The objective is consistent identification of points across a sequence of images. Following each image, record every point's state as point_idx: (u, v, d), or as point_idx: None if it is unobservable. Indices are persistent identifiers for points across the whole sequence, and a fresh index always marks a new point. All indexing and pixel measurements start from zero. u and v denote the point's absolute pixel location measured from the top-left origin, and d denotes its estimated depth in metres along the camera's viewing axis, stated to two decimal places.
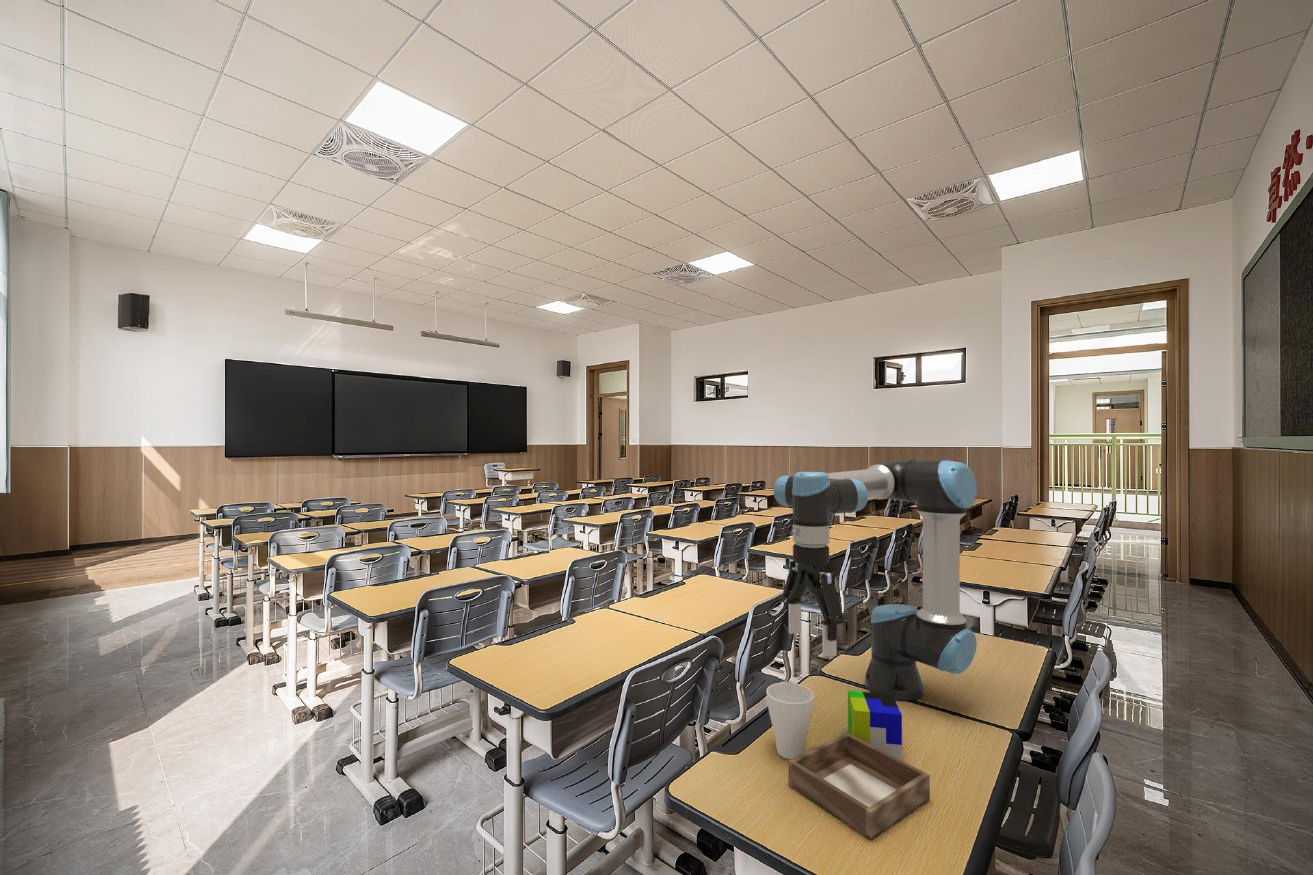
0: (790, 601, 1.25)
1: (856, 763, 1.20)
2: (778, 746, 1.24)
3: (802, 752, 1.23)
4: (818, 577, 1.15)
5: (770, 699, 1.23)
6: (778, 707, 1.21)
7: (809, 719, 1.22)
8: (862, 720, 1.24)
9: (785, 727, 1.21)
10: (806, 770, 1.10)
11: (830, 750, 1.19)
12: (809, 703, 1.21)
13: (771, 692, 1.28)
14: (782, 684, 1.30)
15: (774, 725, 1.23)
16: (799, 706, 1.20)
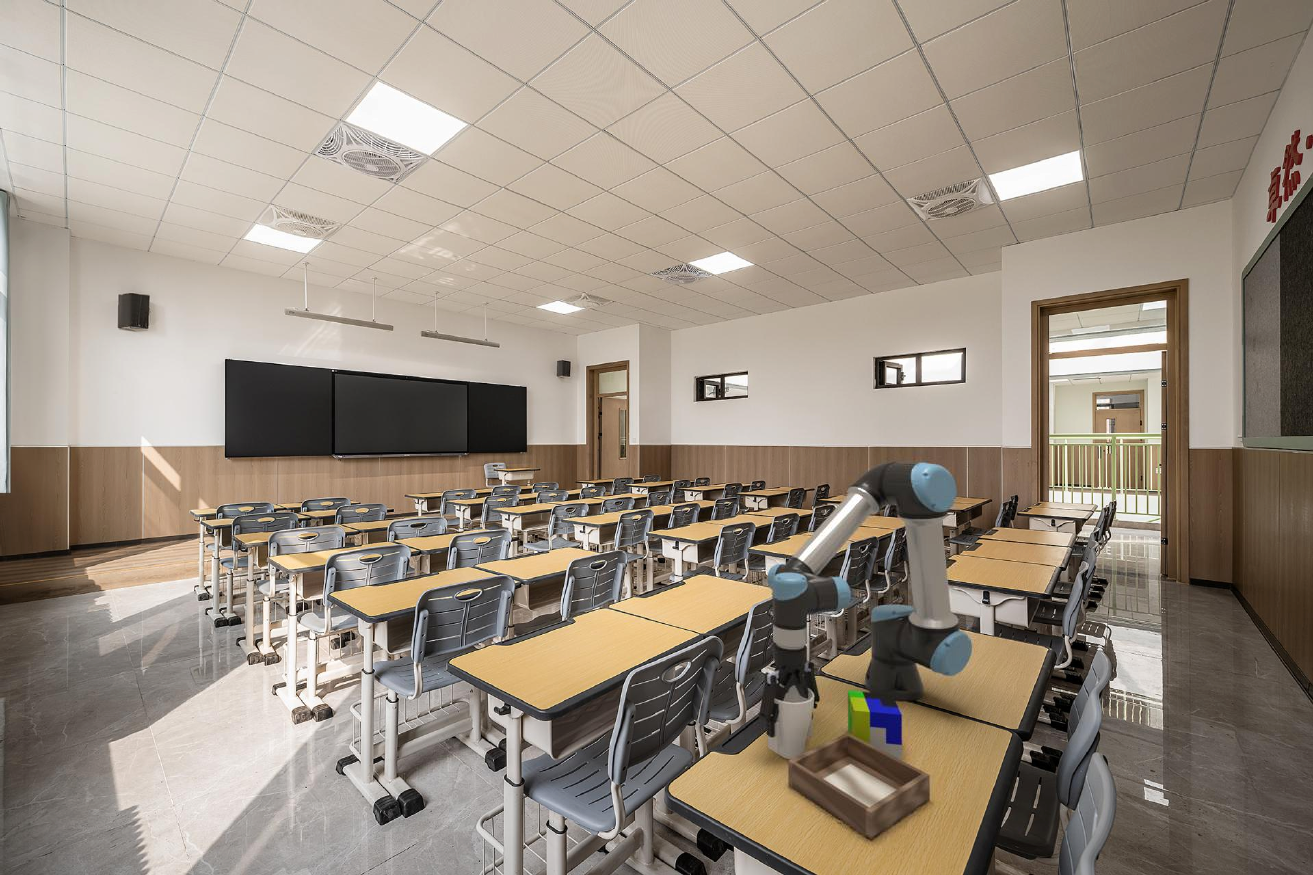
0: None
1: (856, 763, 1.20)
2: None
3: (802, 752, 1.23)
4: None
5: None
6: None
7: (809, 719, 1.22)
8: (862, 720, 1.24)
9: (785, 727, 1.21)
10: (806, 770, 1.10)
11: (830, 750, 1.19)
12: (809, 703, 1.21)
13: None
14: None
15: None
16: (799, 706, 1.20)
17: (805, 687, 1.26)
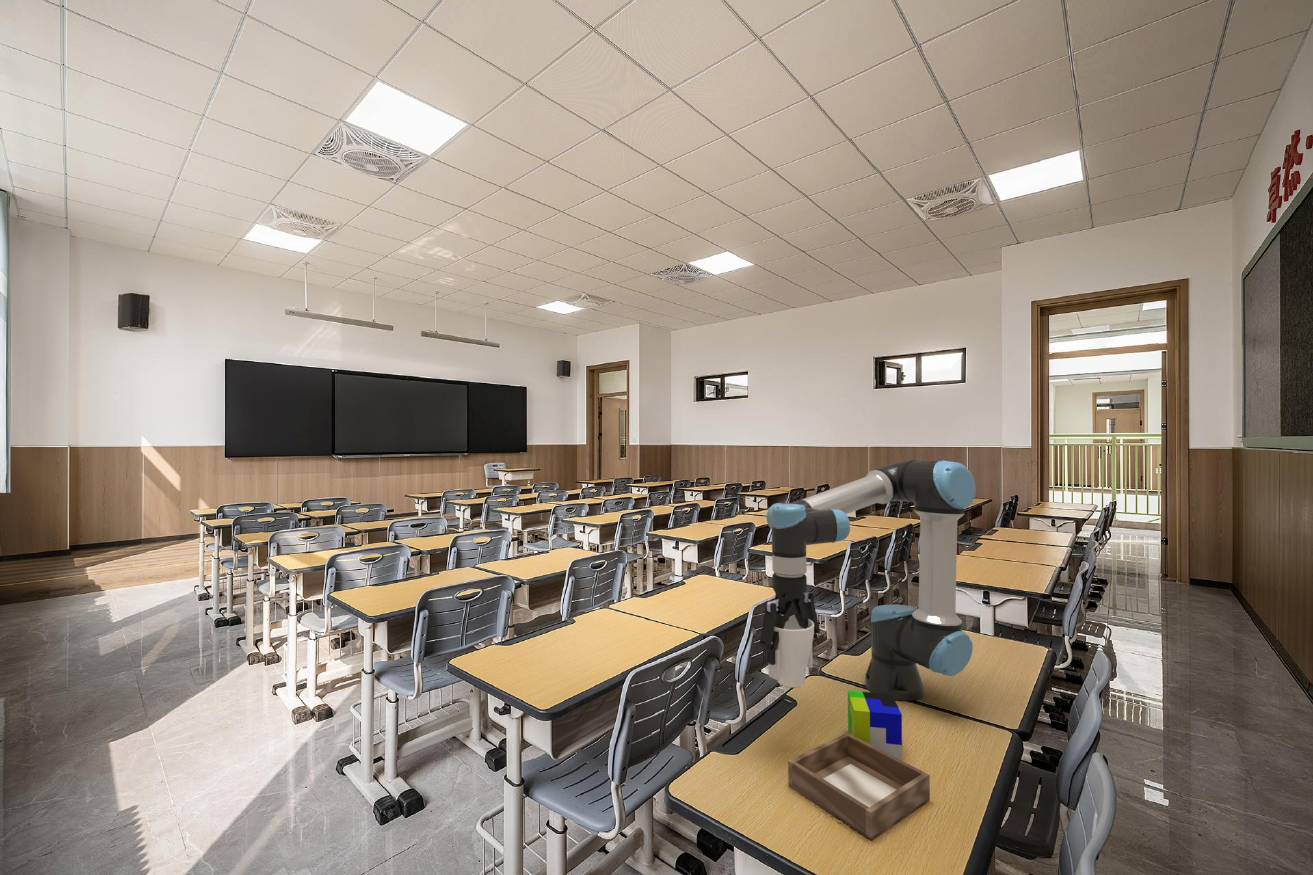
0: None
1: (856, 763, 1.20)
2: None
3: (803, 680, 1.23)
4: None
5: None
6: None
7: (809, 647, 1.22)
8: (862, 720, 1.24)
9: (786, 655, 1.21)
10: (806, 770, 1.10)
11: (830, 750, 1.19)
12: (809, 630, 1.21)
13: None
14: None
15: None
16: (799, 632, 1.20)
17: (805, 617, 1.26)
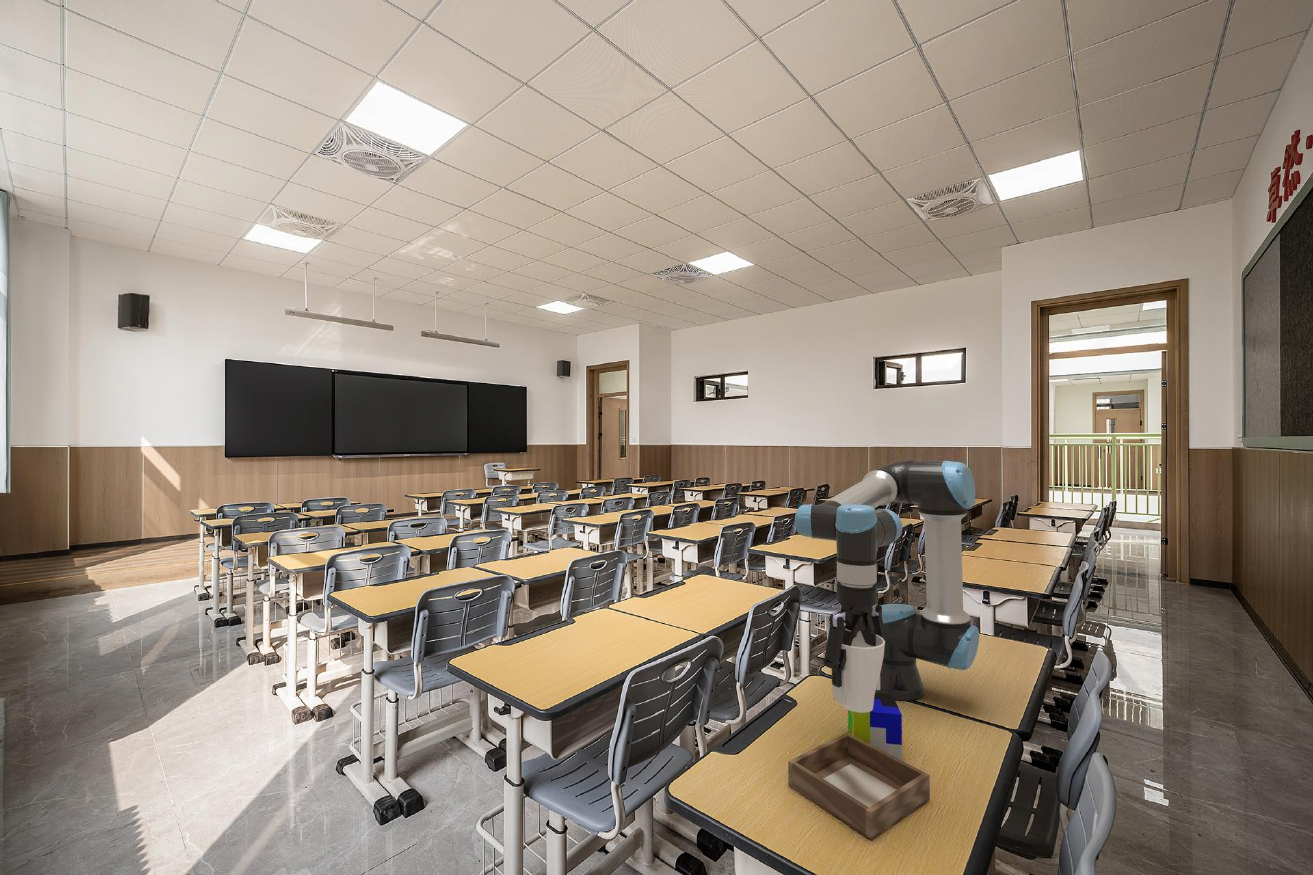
0: None
1: (856, 763, 1.20)
2: None
3: (872, 705, 1.08)
4: None
5: None
6: None
7: (880, 667, 1.08)
8: (862, 720, 1.24)
9: (854, 676, 1.07)
10: (806, 770, 1.10)
11: (830, 750, 1.19)
12: (881, 648, 1.07)
13: None
14: None
15: None
16: (870, 651, 1.06)
17: (873, 633, 1.12)
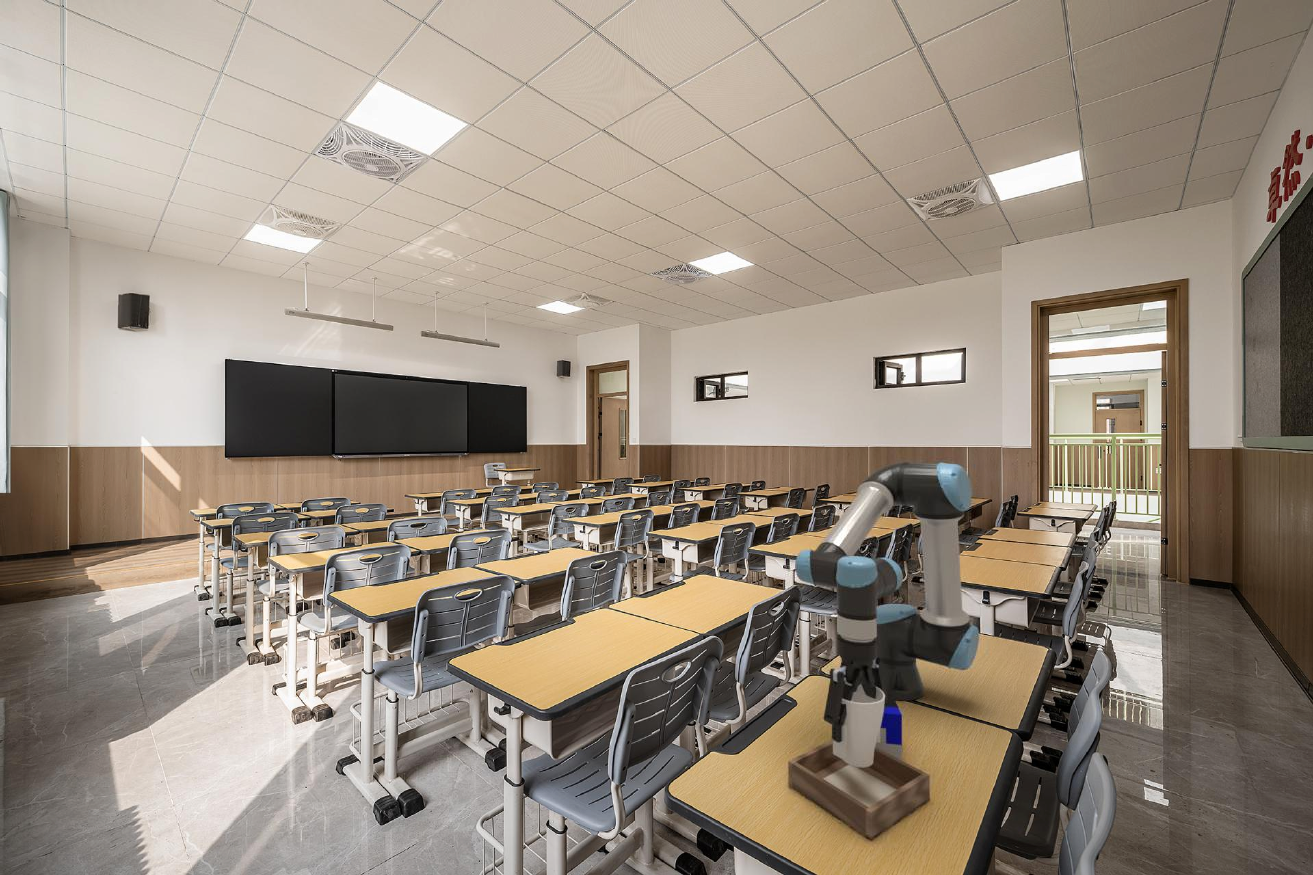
0: None
1: None
2: None
3: (872, 759, 1.08)
4: None
5: None
6: None
7: (880, 722, 1.08)
8: None
9: (854, 731, 1.07)
10: (806, 770, 1.10)
11: (830, 750, 1.19)
12: (881, 703, 1.07)
13: None
14: (845, 682, 1.15)
15: None
16: (870, 706, 1.05)
17: (873, 685, 1.12)
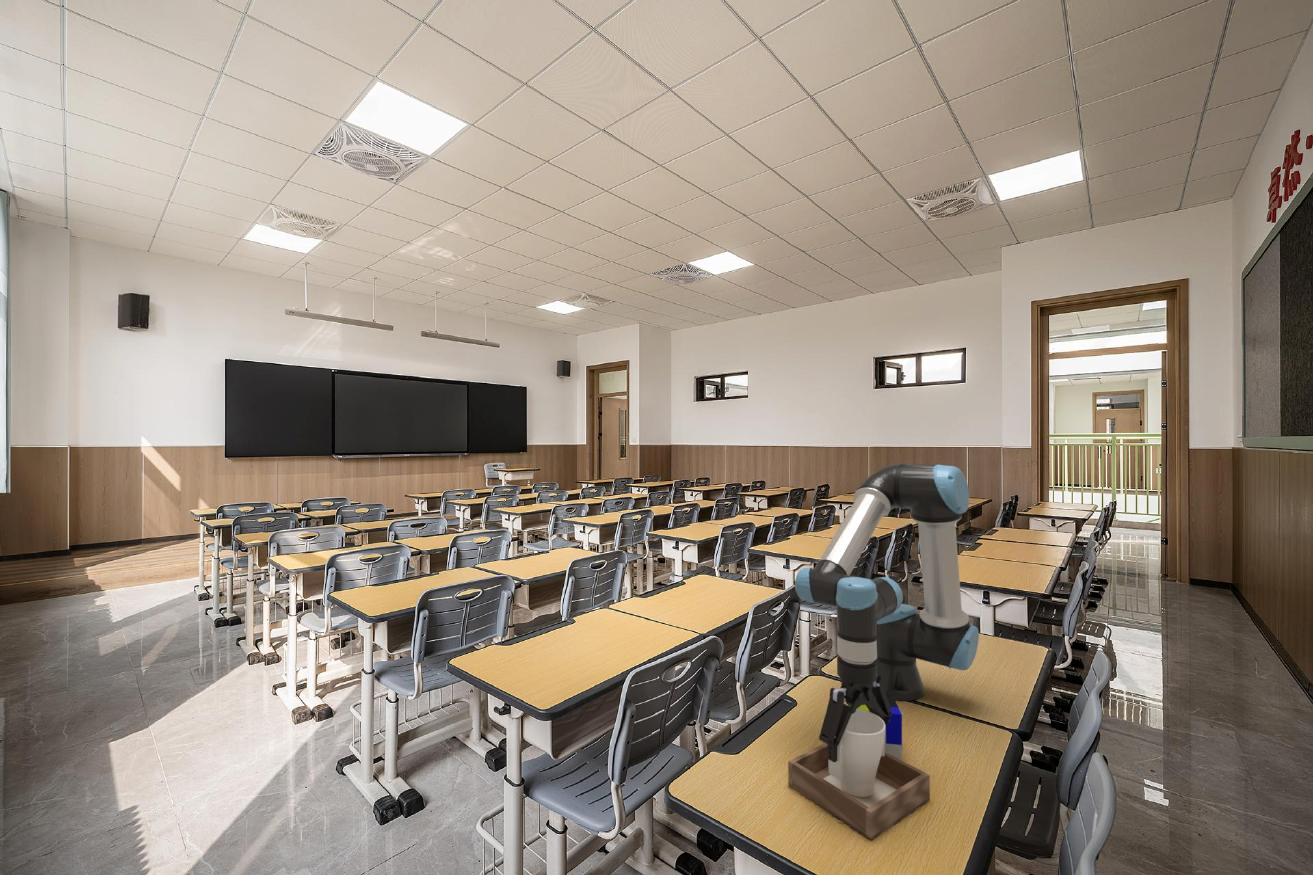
0: None
1: None
2: (844, 781, 1.09)
3: (872, 789, 1.08)
4: None
5: None
6: (846, 738, 1.07)
7: (881, 752, 1.08)
8: None
9: (854, 761, 1.07)
10: (806, 770, 1.10)
11: None
12: (881, 734, 1.07)
13: None
14: None
15: None
16: (871, 737, 1.05)
17: (875, 703, 1.12)
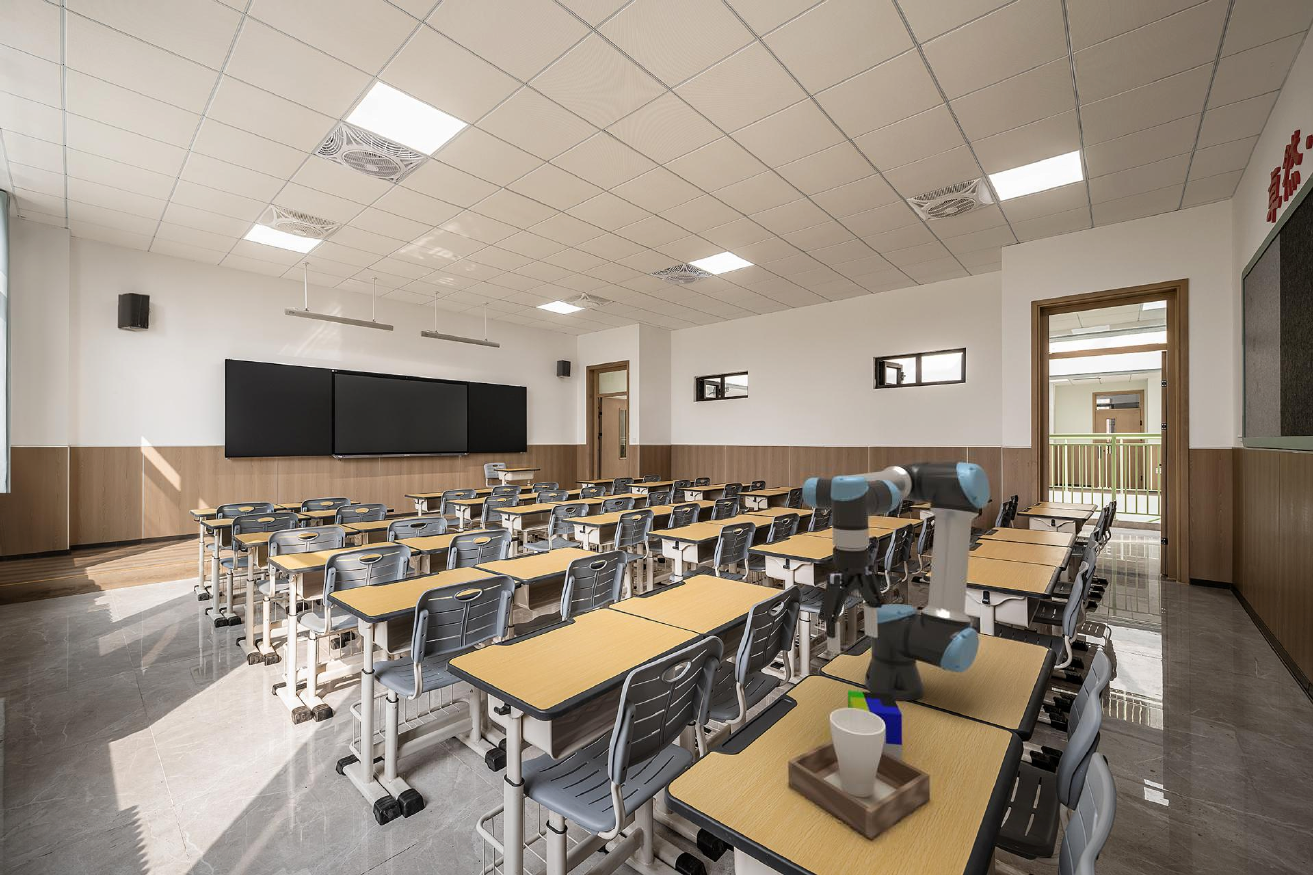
0: (867, 603, 1.26)
1: None
2: (844, 782, 1.09)
3: (872, 789, 1.08)
4: None
5: (835, 728, 1.09)
6: (845, 738, 1.07)
7: (880, 752, 1.08)
8: None
9: (854, 761, 1.07)
10: (806, 770, 1.10)
11: (830, 750, 1.19)
12: (881, 734, 1.07)
13: (834, 719, 1.14)
14: (845, 710, 1.15)
15: (840, 758, 1.09)
16: (871, 737, 1.06)
17: (868, 589, 1.23)
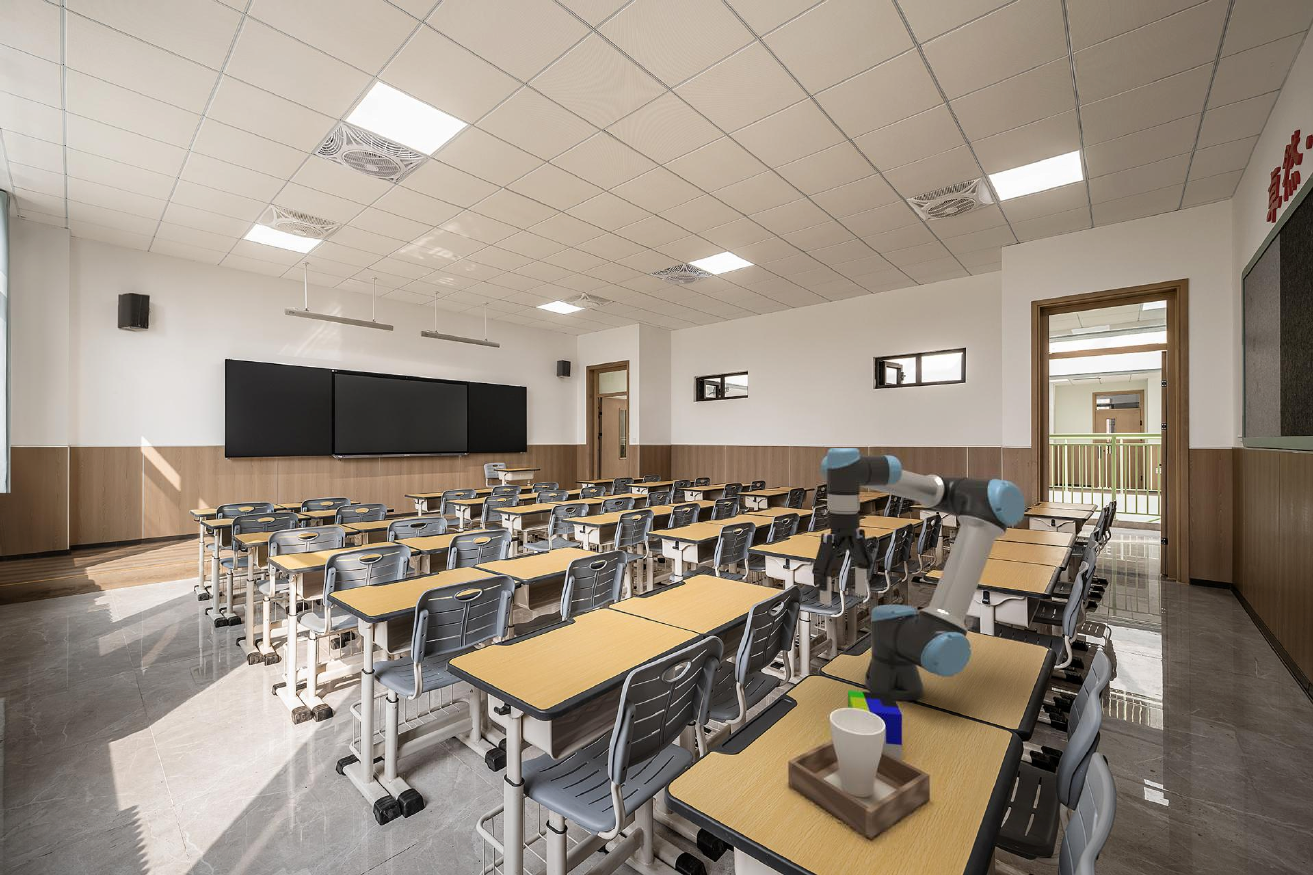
0: (858, 565, 1.39)
1: None
2: (844, 782, 1.09)
3: (872, 789, 1.08)
4: None
5: (835, 728, 1.09)
6: (845, 738, 1.07)
7: (880, 752, 1.08)
8: None
9: (854, 761, 1.07)
10: (806, 770, 1.10)
11: (830, 750, 1.19)
12: (881, 734, 1.07)
13: (834, 719, 1.14)
14: (845, 710, 1.15)
15: (840, 758, 1.09)
16: (871, 737, 1.06)
17: (859, 551, 1.36)
